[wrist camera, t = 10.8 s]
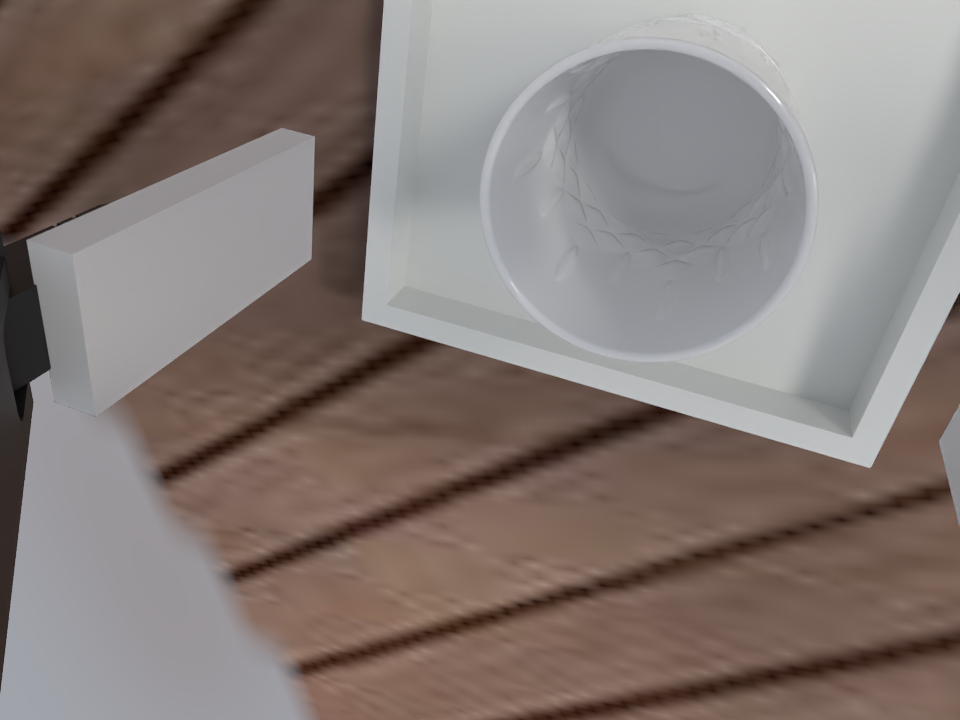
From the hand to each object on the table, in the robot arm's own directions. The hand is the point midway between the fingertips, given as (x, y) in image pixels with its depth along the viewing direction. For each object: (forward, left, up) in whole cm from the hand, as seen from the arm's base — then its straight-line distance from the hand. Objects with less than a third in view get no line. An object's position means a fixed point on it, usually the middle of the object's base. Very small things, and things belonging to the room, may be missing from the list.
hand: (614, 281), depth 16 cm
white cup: (0, 0, -14) cm, 14 cm away
